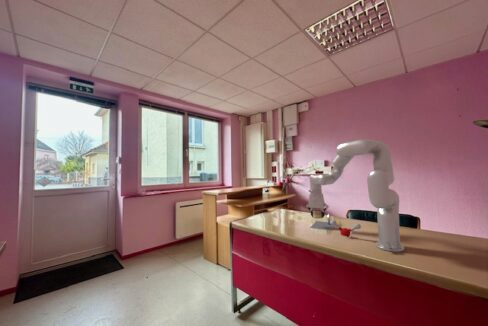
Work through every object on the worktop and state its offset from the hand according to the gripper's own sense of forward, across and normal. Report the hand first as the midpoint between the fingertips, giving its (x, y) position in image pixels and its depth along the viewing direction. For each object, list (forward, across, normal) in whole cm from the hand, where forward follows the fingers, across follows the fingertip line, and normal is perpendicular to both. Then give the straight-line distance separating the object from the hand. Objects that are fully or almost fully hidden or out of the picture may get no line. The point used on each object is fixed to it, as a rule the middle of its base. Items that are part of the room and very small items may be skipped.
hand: (317, 216), depth 145 cm
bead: (0, 0, 0) cm, 0 cm away
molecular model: (+10, +18, -9) cm, 22 cm away
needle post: (+7, +5, +11) cm, 15 cm away
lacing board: (+9, +2, +6) cm, 11 cm away
